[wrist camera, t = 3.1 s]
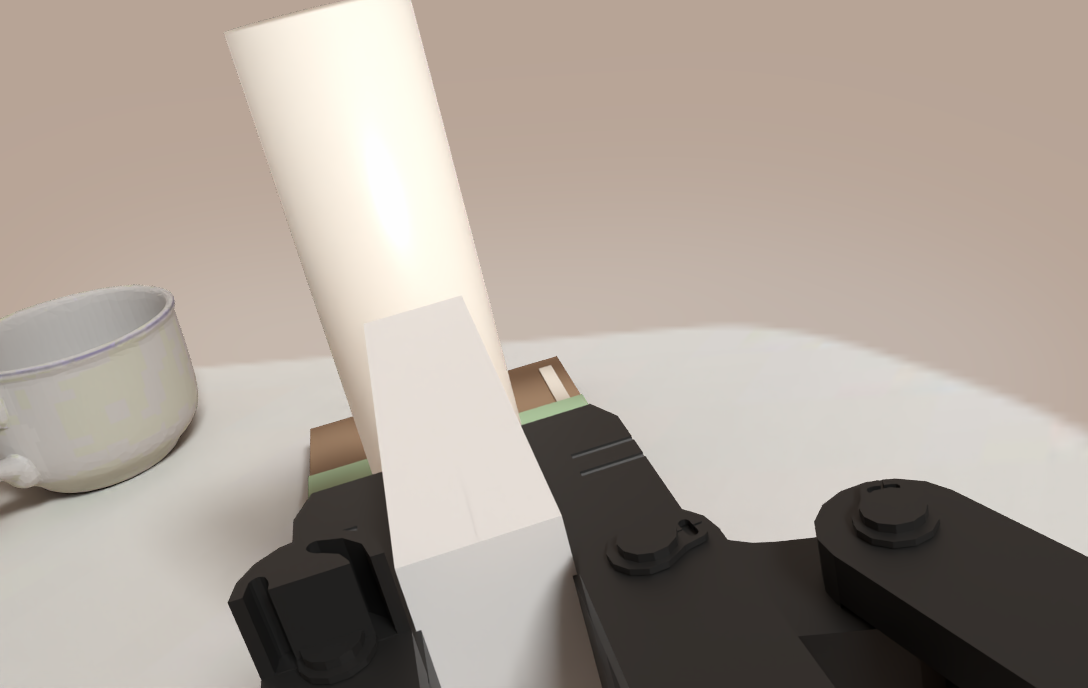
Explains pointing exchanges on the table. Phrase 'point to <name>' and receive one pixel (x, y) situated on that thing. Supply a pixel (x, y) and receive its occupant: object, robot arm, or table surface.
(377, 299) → the tuning slider
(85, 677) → the table surface
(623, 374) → the table surface
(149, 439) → the teacup
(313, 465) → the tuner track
